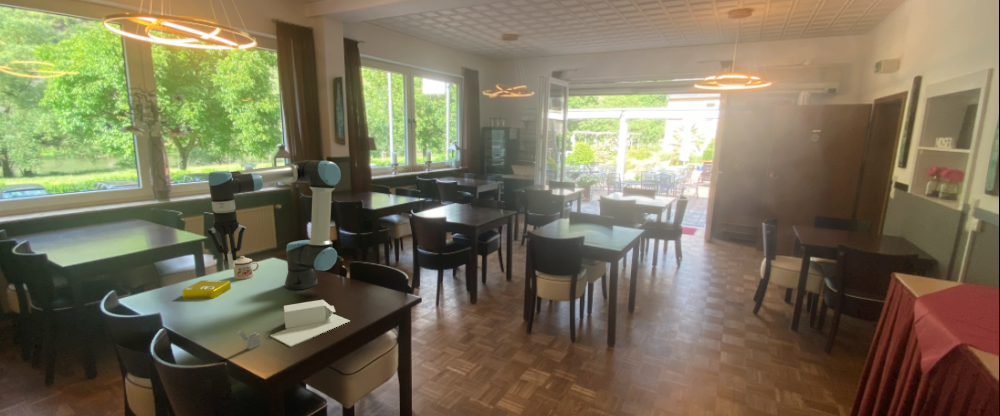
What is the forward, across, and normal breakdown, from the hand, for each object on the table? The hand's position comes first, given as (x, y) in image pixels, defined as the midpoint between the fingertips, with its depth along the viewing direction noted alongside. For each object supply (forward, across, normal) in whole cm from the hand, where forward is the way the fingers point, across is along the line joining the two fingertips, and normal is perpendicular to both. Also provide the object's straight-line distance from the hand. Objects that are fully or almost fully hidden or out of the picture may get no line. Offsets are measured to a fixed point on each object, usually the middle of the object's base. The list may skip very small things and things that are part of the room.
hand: (232, 268), depth 167 cm
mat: (+24, +26, -14) cm, 38 cm away
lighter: (+23, +8, -26) cm, 36 cm away
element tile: (+24, -21, +40) cm, 52 cm away
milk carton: (+20, +18, -11) cm, 29 cm away
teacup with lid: (+25, -8, +62) cm, 67 cm away
